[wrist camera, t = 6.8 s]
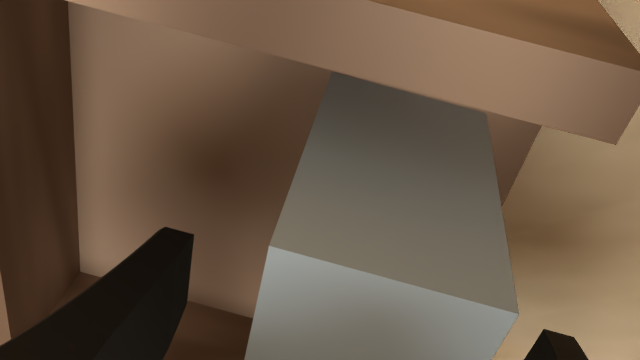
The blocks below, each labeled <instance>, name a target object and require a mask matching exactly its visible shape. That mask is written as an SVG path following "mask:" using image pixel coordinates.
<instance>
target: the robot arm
mask: <svg viewBox="0 0 640 360" xmlns="http://www.w3.org/2000/svg"><path fill="white" fill-rule="evenodd" d="M193 242H194V234H191V233H187V232H184V231H180V230H176V229H172V228H169V227H163V228H161V229H159V230H158V231H157V232H156V233H155V234H154V235H153V236H152V237H150V238H149V239H148V240H147V241H146V242H145V243H143V244H142V245H141V246H140V247H139V248H138V249H136V250H135V251H134V252H133V253H132V254H130V255H129V256H128V257H127V258H126V259H124V260H123V261H122V262H121V263H119V264H118V265H117V266H116V267H114V268H113V269H112V270H111V271H109V272H108V273H107V274H105V275H104V276H103V277H101V278H100V279H99V280H97V281H96V282H95V283H93V284H92V285H91V286H90V287H88V288H87V289H86V290H84V291H83V292H82V293H80V294H79V295H77V296H76V297H75V298H73V299H72V300H70V301H69V302H67V303H66V304H64V305H63V306H61V307H60V308H59V309H57V310H56V311H54V312H53V313H51V314H50V315H48V316H47V317H45V318H44V319H43V320H41V321H39V322H38V323H36V324H35V325H33V326H32V327H30V328H28V329H27V330H25V331H24V332H22V333H20V334H19V335H17V336H16V337H14V338H12V339H11V340H9V341H7V342H5V343H4V344H2V345H0V360H163V358H164V356H165V354H166V352H167V351H168V349H169V346H170V344H171V342H172V339H173V337H174V335H175V332H176V330H177V327H178V325H179V322H180V320H181V317H182V315H183V312H184V310H185V307H186V305H187V299H188V289H189V280H190V270H191V261H192V252H193ZM524 360H588V358H587V357H586V355H585V353H584V352H583V350H582V349H581V347H580V346H579V344H578V343H577V341H576V340H575V338H574V337H571V336H568V335H564V334H560V333H557V332H553V331H549V330H545V329H544V330H543V331H542V333H541V334H540V336H539V337H538V339H537V340H536V342H535V344H534V345H533V347H532V348H531V350H530V351H529V353H528V354H527V356H526V358H525V359H524Z"/></svg>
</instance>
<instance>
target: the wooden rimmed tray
mask: <svg viewBox="0 0 640 360" xmlns="http://www.w3.org/2000/svg"><path fill="white" fill-rule="evenodd" d="M332 72H335V73H339V74H343V75H346V76H350V77H354V78H357V79H361V80H365V81H369V82H372V83H376V84H380V85H383V86H387V87H391V88H395V89H398V90H402V91H406V92H409V93H413V94H417V95H421V96H424V97H428V98H432V99H435V100H439V101H443V102H447V103H450V104H454V105H458V106H461V107H465V108H469V109H473V110H476V111H480V112H484V113H486V116H487V122H488V128H489V134H490V140H491V146H492V152H493V158H494V164H495V170H496V176H497V183H498V189H499V195H500V201H501V207H502V205H503V203H504V201H505V199H506V197H507V195H508V193H509V191H510V189H511V187H512V185H513V183H514V181H515V179H516V177H517V175H518V173H519V170H520V168H521V166H522V164H523V162H524V160H525V158H526V156H527V154H528V152H529V150H530V148H531V146H532V144H533V142H534V140H535V138H536V136H537V134H538V132H539V130H540V128H541V126H546V127H550V128H554V129H558V130H561V131H565V132H569V133H573V134H577V135H580V136H584V137H588V138H592V139H596V140H600V141H603V142H607V143H611V144H615V145H616V144H617V142H618V140H619V139H620V137H621V135H622V134H623V132H624V130H625V128H626V127H627V125H628V123H629V122H630V120H631V118H632V117H633V115H634V113H635V112H636V110H637V108H638V106H639V105H640V54H639V52H638V51H637V50H636V49H635V47H634V46H633V45H632V44H631V42H630V41H629V40H628V39H627V37H626V36H625V35H624V33H623V32H622V31H621V30H620V28H619V27H618V26H617V25H616V23H615V22H614V21H613V20H612V18H611V17H610V16H609V14H608V13H607V12H606V11H605V9H604V8H603V7H602V6H601V4H600V3H599V2H598V1H597V0H0V345H2V344H4V343H5V342H7V341H9V340H11V339H12V338H14V337H16V336H17V335H19V334H20V333H22V332H24V331H25V330H27V329H28V328H30V327H32V326H33V325H35V324H36V323H38V322H39V321H41V320H43V319H44V318H45V317H47V316H48V315H50V314H51V313H53V312H54V311H56V310H57V309H59V308H60V307H61V306H63V305H64V304H66V303H67V302H69V301H70V300H72V299H73V298H75V297H76V296H77V295H79V294H80V293H82V292H83V291H84V290H86V289H87V288H88V287H90V286H91V285H92V284H93V283H95V282H96V281H97V280H99V279H100V278H101V277H103V276H104V275H105V274H107V273H108V272H109V271H111V270H112V269H113V268H114V267H116V266H117V265H118V264H119V263H121V262H122V261H123V260H124V259H126V258H127V257H128V256H129V255H130V254H132V253H133V252H134V251H135V250H136V249H138V248H139V247H140V246H141V245H142V244H143V243H145V242H146V241H147V240H148V239H149V238H150V237H152V236H153V235H154V234H155V233H156V232H157V231H158V230H159V229H161V228H163V227H169V228H172V229H176V230H180V231H184V232H187V233H191V234H194V242H193V252H192V261H191V270H190V280H189V289H188V299H187V305H186V307H185V310H184V312H183V315H182V317H181V320H180V322H179V325H178V327H177V330H176V332H175V335H174V337H173V339H172V342H171V344H170V346H169V349H168V351H167V352H166V354H165V356H164V358H163V360H244V359H245V354H246V350H247V345H248V340H249V336H250V331H251V327H252V322H253V317H254V313H255V308H256V304H257V299H258V294H259V290H260V285H261V281H262V276H263V271H264V267H265V262H266V258H267V253H268V248H269V245H270V242H271V239H272V236H273V234H274V231H275V228H276V225H277V222H278V220H279V217H280V214H281V211H282V209H283V206H284V203H285V200H286V198H287V195H288V192H289V189H290V187H291V184H292V181H293V178H294V176H295V173H296V170H297V167H298V165H299V162H300V159H301V156H302V154H303V151H304V148H305V145H306V142H307V140H308V137H309V134H310V131H311V129H312V126H313V123H314V120H315V118H316V115H317V112H318V109H319V107H320V104H321V101H322V98H323V96H324V93H325V90H326V87H327V85H328V82H329V79H330V76H331V74H332Z"/></svg>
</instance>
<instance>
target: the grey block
mask: <svg viewBox="0 0 640 360" xmlns="http://www.w3.org/2000/svg"><path fill="white" fill-rule="evenodd" d="M518 315H519V310H518V304H517V298H516V292H515V286H514V280H513V274H512V268H511V261H510V255H509V249H508V243H507V237H506V231H505V225H504V219H503V213H502V207H501V201H500V195H499V189H498V183H497V176H496V170H495V164H494V158H493V152H492V146H491V140H490V134H489V128H488V122H487V116H486V113H484V112H480V111H476V110H473V109H469V108H465V107H461V106H458V105H454V104H450V103H447V102H443V101H439V100H435V99H432V98H428V97H424V96H421V95H417V94H413V93H409V92H406V91H402V90H398V89H395V88H391V87H387V86H383V85H380V84H376V83H372V82H369V81H365V80H361V79H357V78H354V77H350V76H346V75H343V74H339V73H335V72H332V74H331V76H330V79H329V82H328V85H327V87H326V90H325V93H324V96H323V98H322V101H321V104H320V107H319V109H318V112H317V115H316V118H315V120H314V123H313V126H312V129H311V131H310V134H309V137H308V140H307V142H306V145H305V148H304V151H303V154H302V156H301V159H300V162H299V165H298V167H297V170H296V173H295V176H294V178H293V181H292V184H291V187H290V189H289V192H288V195H287V198H286V200H285V203H284V206H283V209H282V211H281V214H280V217H279V220H278V222H277V225H276V228H275V231H274V234H273V236H272V239H271V242H270V245H269V248H268V253H267V258H266V262H265V267H264V271H263V276H262V281H261V285H260V290H259V294H258V299H257V304H256V308H255V313H254V317H253V322H252V327H251V331H250V336H249V340H248V345H247V350H246V354H245V359H244V360H492V358H493V357H494V355H495V353H496V352H497V350H498V348H499V347H500V345H501V343H502V342H503V340H504V339H505V337H506V335H507V334H508V332H509V330H510V329H511V327H512V325H513V324H514V322H515V320H516V319H517V317H518Z"/></svg>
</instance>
